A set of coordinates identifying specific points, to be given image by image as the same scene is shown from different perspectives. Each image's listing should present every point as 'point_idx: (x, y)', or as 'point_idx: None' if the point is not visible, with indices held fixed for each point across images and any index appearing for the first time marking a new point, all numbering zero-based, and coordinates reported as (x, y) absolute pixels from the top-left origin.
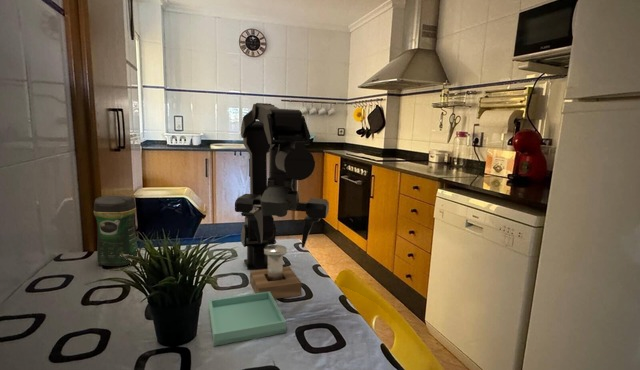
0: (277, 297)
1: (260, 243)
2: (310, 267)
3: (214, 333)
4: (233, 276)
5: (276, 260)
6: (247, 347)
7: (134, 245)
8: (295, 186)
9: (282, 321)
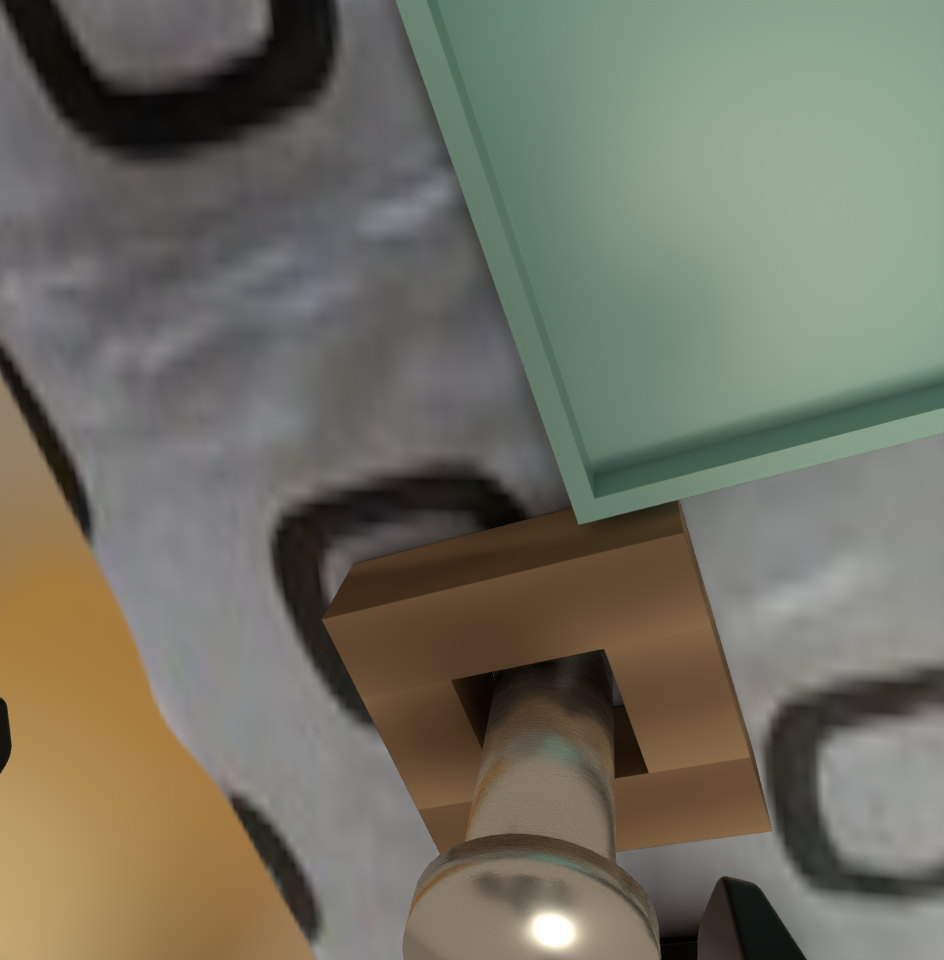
0: (524, 524)
1: (728, 877)
2: (332, 913)
3: None
4: (892, 849)
5: (519, 814)
6: None
7: None
8: None
9: None
